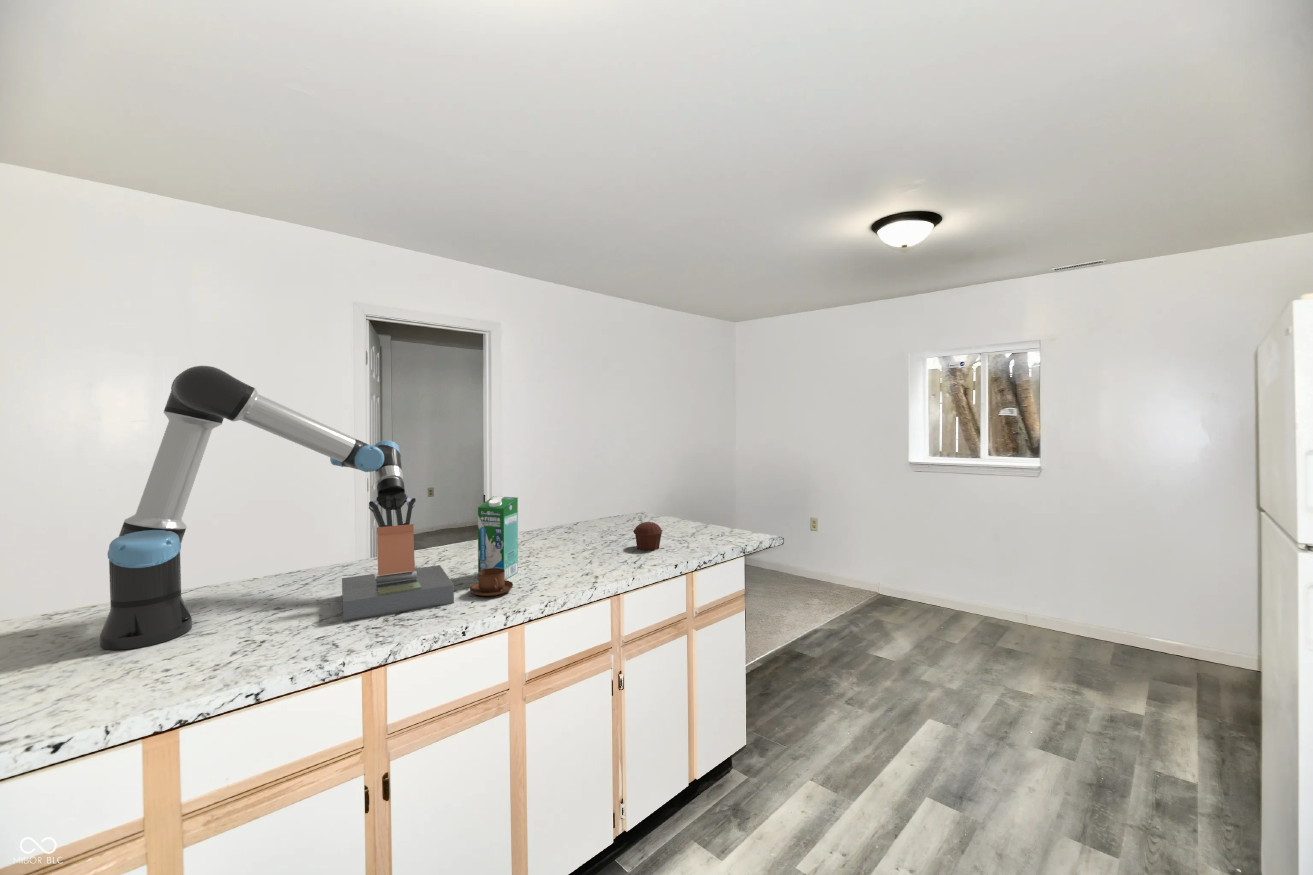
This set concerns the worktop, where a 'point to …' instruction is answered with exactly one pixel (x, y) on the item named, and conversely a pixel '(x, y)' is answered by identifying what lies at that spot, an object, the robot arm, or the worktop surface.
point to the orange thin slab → (395, 553)
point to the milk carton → (498, 535)
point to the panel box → (395, 593)
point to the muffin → (648, 536)
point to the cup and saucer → (491, 583)
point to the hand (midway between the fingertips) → (397, 549)
